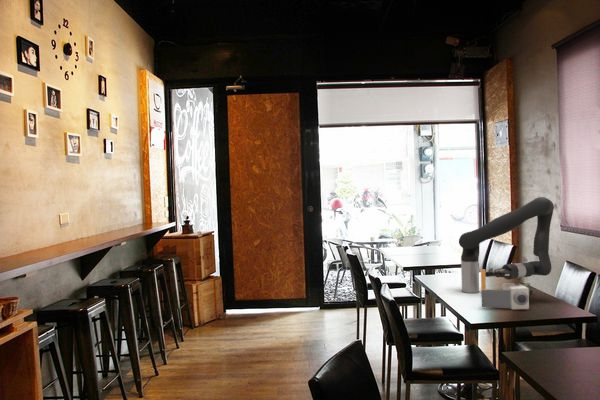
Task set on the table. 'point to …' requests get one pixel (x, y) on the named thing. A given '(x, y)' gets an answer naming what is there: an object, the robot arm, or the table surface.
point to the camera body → (518, 295)
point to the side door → (494, 295)
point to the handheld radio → (528, 287)
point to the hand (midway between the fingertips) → (485, 274)
